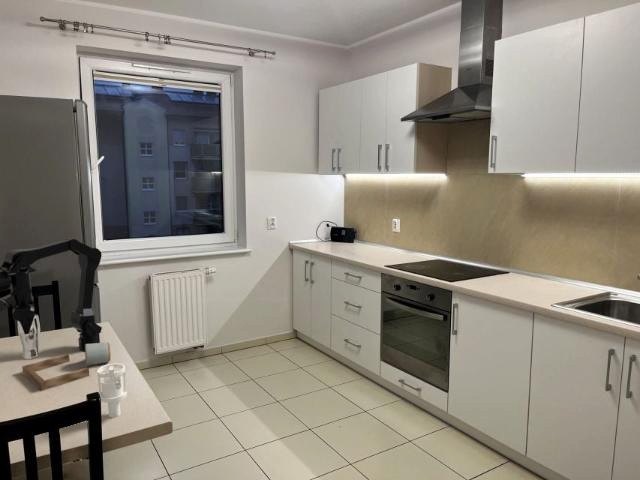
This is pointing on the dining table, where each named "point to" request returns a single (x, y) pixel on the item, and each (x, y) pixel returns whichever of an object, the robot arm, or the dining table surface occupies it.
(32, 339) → the beer glass
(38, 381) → the walnut bay
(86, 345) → the ceramic mug
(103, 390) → the strainer
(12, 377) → the dining table surface
